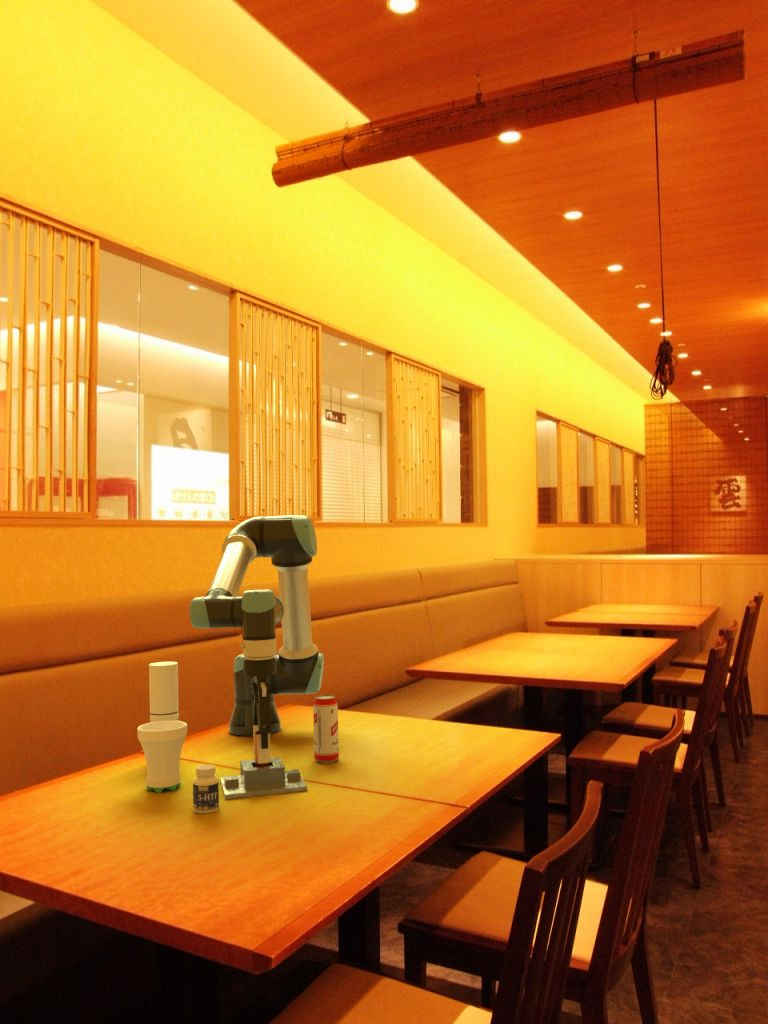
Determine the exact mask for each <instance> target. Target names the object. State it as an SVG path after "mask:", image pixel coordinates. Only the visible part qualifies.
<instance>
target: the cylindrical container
mask: <svg viewBox="0 0 768 1024" xmlns="http://www.w3.org/2000/svg"><path fill="white" fill-rule="evenodd" d="M178 663H179V662H178V661H159V662H151V663H149V664H148V676H149V677H148V678H149V680H148V681H149V682H148V685H149V686H148V687H149V723H151V722H157V721H180V720H179V719H180V718H179V716H180V715H179V710H180V709H179V672H178V671H179V669H178V668H179V666H178V665H179V664H178Z"/></svg>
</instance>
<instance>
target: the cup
mask: <svg viewBox="0 0 768 1024" xmlns="http://www.w3.org/2000/svg"><path fill="white" fill-rule="evenodd" d="M136 729H137V739H138V741H139V742H140V744H141V747H142V750H143V754H144V757H145V762H146V771H147V772H146V773H147V774H146V778H145V784H146V785H145V787H146V790H147V791H148V790H149V792H151V790H152V791H155V793H157V794H158V793H159V794H160V793H162V792H163V791H164V789H167V790H168V791H172V792H173V791H175V790H176V789H177V788H178V787H180V786H181V781H182V780H181V777H182V776H181V772H180V761H181V760H180V759H181V754H182V748H183V746H184V743H185V739H186V737H188V736H187V735H188V723H187V722H185V721H182V720H179V721H157V722H151V723H150V722H147V723H143V724H141V725H139V726H138V727H137V728H136Z"/></svg>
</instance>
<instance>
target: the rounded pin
mask: <svg viewBox="0 0 768 1024" xmlns="http://www.w3.org/2000/svg"><path fill="white" fill-rule="evenodd" d="M254 737H255V755H254V760H255V767H264V766H269V763H260V764H258V734H257V735H255V733H254Z"/></svg>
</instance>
